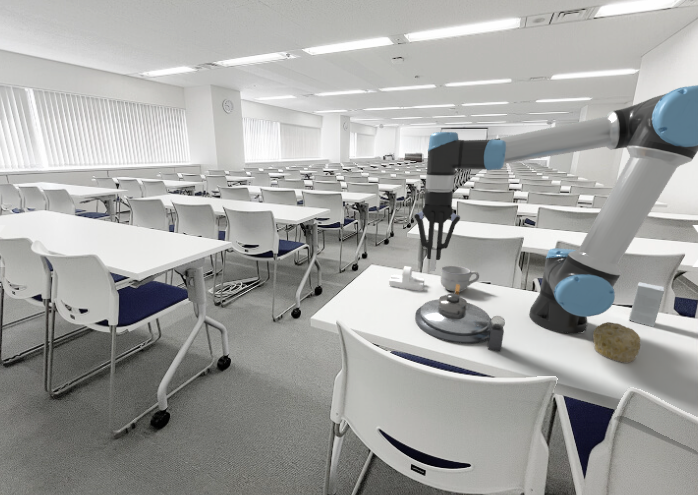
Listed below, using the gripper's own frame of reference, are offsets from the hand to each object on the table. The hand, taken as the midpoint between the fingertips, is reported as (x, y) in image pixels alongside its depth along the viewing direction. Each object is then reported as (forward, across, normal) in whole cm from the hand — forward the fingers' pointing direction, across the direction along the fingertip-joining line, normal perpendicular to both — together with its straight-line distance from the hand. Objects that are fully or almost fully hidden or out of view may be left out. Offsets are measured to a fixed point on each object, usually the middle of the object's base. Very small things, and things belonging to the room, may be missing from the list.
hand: (432, 269), depth 98 cm
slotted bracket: (+16, +12, -24) cm, 31 cm away
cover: (+13, -7, 0) cm, 15 cm away
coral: (+17, -47, +2) cm, 50 cm away
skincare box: (+17, -63, -22) cm, 69 cm away
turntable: (+15, -7, 0) cm, 16 cm away
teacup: (+16, -8, -28) cm, 33 cm away
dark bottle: (+16, -18, +10) cm, 27 cm away
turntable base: (+16, -7, 0) cm, 18 cm away
